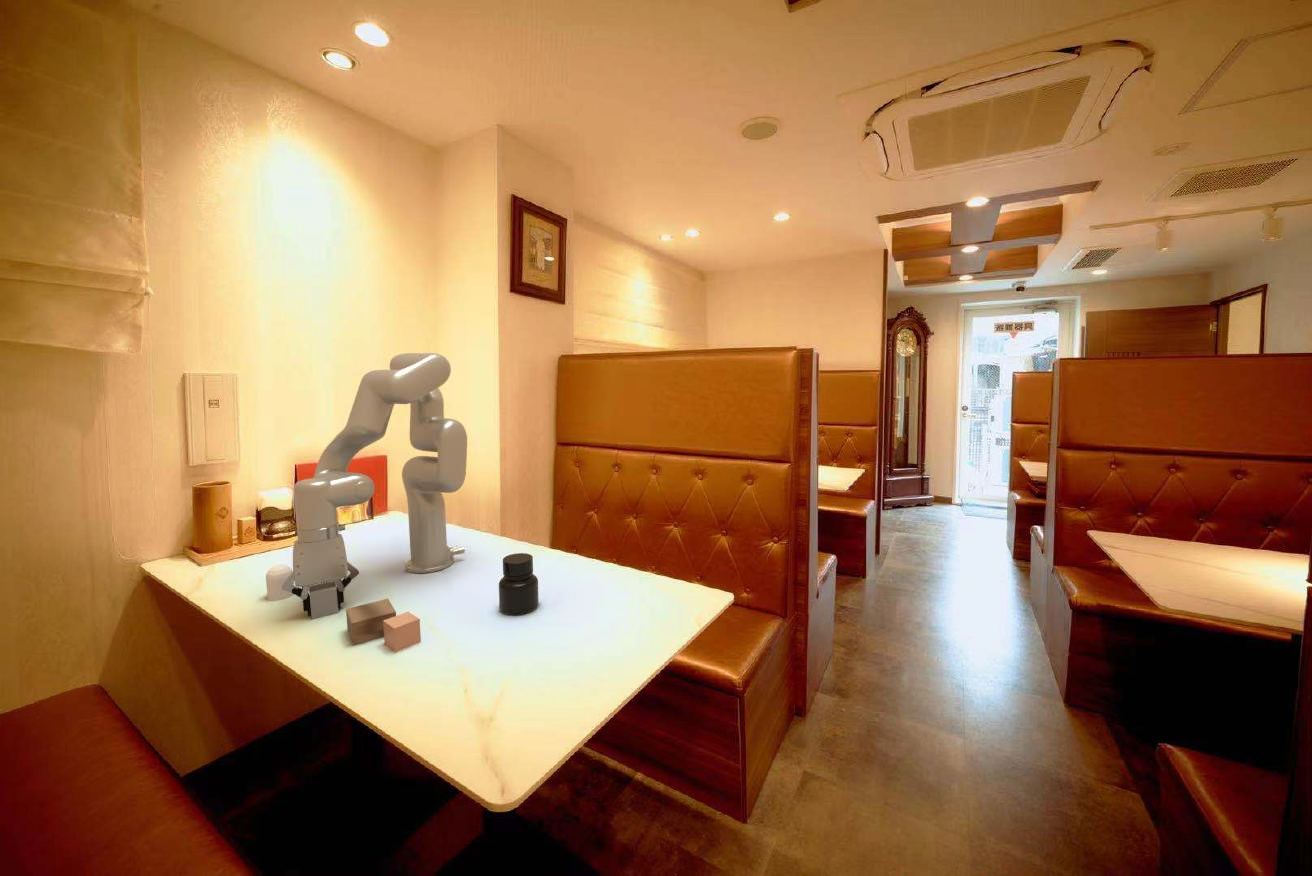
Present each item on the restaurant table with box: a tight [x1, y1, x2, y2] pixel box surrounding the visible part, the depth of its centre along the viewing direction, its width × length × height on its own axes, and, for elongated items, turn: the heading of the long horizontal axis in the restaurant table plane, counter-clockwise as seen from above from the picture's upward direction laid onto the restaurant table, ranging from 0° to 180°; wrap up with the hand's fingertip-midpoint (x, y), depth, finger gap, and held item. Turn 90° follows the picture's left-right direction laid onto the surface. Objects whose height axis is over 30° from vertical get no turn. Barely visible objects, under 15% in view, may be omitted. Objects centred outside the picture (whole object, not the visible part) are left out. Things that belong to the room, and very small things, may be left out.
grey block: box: [308, 581, 339, 620], centre depth 112 cm, size 5×5×6 cm
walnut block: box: [345, 598, 397, 647], centre depth 104 cm, size 8×8×5 cm
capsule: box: [265, 563, 295, 602], centre depth 120 cm, size 5×5×8 cm
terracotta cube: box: [383, 611, 422, 653], centre depth 100 cm, size 5×5×5 cm
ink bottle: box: [498, 552, 540, 616], centre depth 115 cm, size 10×9×12 cm
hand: (324, 609), depth 113 cm, fingers closed on grey block, 5 cm apart
